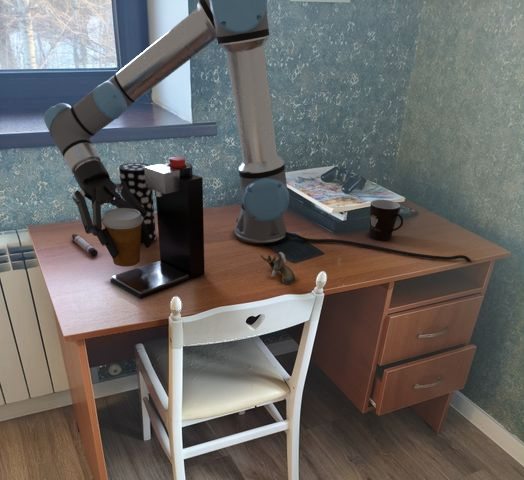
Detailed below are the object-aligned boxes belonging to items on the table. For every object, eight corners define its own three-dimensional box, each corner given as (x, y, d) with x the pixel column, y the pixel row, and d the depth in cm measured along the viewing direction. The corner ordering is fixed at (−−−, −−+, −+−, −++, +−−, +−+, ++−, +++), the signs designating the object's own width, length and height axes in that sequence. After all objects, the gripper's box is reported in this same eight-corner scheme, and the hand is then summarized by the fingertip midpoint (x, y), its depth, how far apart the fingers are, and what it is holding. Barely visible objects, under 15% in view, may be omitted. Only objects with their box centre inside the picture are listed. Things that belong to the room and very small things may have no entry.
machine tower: (207, 274, 135) (205, 168, 121) (187, 281, 131) (183, 173, 116) (177, 259, 141) (172, 158, 127) (157, 266, 137) (149, 162, 123)
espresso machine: (190, 280, 131) (187, 172, 117) (140, 299, 122) (129, 184, 108) (160, 265, 138) (153, 161, 124) (110, 282, 128) (96, 172, 114)
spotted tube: (159, 234, 156) (154, 164, 145) (151, 244, 149) (146, 171, 138) (131, 232, 157) (124, 161, 146) (122, 242, 150) (114, 169, 139)
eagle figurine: (253, 270, 135) (272, 277, 128) (265, 244, 134) (285, 250, 127) (275, 281, 140) (295, 288, 132) (287, 255, 139) (307, 262, 132)
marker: (98, 255, 141) (97, 248, 140) (91, 257, 140) (89, 250, 139) (76, 237, 151) (75, 230, 150) (69, 238, 150) (68, 232, 149)
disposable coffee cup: (98, 264, 129) (92, 216, 122) (121, 251, 136) (116, 205, 130) (132, 272, 126) (127, 223, 120) (154, 258, 134) (150, 211, 127)
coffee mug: (362, 231, 165) (367, 199, 159) (389, 231, 166) (395, 199, 160) (372, 245, 155) (377, 212, 150) (401, 246, 156) (407, 212, 151)
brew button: (188, 167, 122) (188, 158, 121) (176, 170, 120) (176, 161, 119) (178, 164, 124) (178, 155, 123) (166, 166, 122) (165, 158, 121)
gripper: (120, 169, 137) (163, 246, 137) (41, 184, 124) (88, 269, 124) (130, 152, 131) (175, 232, 131) (48, 166, 118) (98, 255, 118)
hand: (133, 250), depth 127 cm, fingers closed on disposable coffee cup, 9 cm apart
